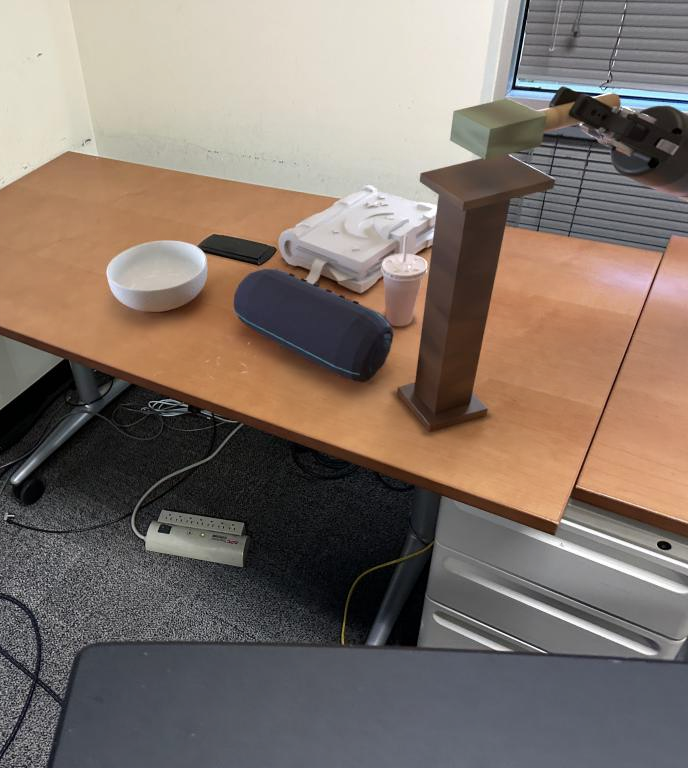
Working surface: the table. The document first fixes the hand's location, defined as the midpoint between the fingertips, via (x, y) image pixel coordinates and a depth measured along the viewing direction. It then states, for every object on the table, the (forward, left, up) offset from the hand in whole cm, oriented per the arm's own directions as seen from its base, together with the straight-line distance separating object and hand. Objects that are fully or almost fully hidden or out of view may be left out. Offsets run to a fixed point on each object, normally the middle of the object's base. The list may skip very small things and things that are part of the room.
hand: (566, 100), depth 67 cm
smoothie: (+14, -14, -37) cm, 42 cm away
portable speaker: (+26, -4, -37) cm, 45 cm away
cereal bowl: (+53, -15, -37) cm, 66 cm away
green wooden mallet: (+2, +1, -3) cm, 4 cm away
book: (+23, -32, -37) cm, 54 cm away
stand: (+7, +4, -37) cm, 38 cm away
